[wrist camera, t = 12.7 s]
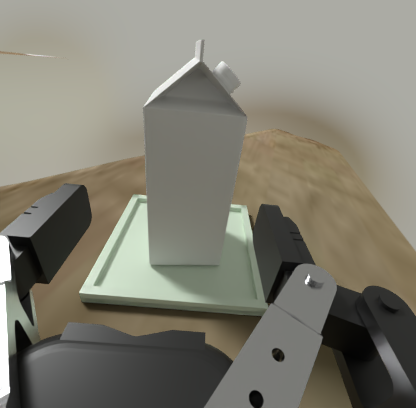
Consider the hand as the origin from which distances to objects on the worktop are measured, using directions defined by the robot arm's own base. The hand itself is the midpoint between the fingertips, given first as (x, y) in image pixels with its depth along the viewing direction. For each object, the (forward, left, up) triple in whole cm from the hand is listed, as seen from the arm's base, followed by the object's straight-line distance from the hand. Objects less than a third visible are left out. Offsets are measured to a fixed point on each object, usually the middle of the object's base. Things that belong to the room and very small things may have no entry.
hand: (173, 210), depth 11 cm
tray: (0, +11, -13) cm, 17 cm away
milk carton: (0, +11, -12) cm, 16 cm away
